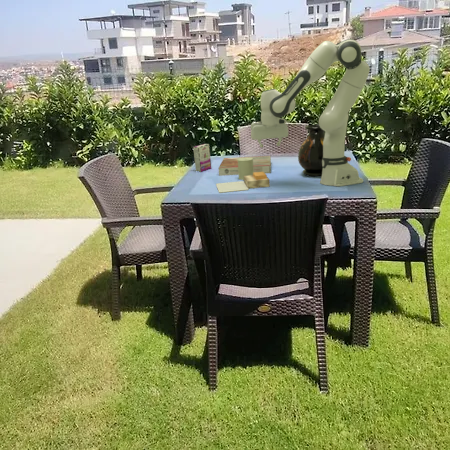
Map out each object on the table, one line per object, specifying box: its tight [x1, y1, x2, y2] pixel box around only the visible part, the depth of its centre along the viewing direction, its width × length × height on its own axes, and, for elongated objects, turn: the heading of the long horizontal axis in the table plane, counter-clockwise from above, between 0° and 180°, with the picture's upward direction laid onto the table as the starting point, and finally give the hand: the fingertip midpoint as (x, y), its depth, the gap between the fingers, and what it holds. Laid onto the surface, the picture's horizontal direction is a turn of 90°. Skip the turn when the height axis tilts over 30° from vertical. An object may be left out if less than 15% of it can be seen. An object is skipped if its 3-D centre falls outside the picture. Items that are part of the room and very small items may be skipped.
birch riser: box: [243, 175, 271, 190], centre depth 246 cm, size 12×14×4 cm
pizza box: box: [218, 155, 272, 177], centre depth 288 cm, size 32×5×32 cm
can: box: [238, 158, 253, 181], centre depth 262 cm, size 9×9×12 cm
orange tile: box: [253, 172, 268, 180], centre depth 246 cm, size 6×9×2 cm, turn 6°
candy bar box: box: [193, 143, 212, 173], centre depth 292 cm, size 11×5×16 cm, turn 143°
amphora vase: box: [297, 123, 326, 178], centre depth 256 cm, size 22×22×28 cm
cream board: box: [215, 180, 250, 194], centre depth 246 cm, size 16×20×1 cm
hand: (269, 146), depth 241 cm, fingers open, 8 cm apart
